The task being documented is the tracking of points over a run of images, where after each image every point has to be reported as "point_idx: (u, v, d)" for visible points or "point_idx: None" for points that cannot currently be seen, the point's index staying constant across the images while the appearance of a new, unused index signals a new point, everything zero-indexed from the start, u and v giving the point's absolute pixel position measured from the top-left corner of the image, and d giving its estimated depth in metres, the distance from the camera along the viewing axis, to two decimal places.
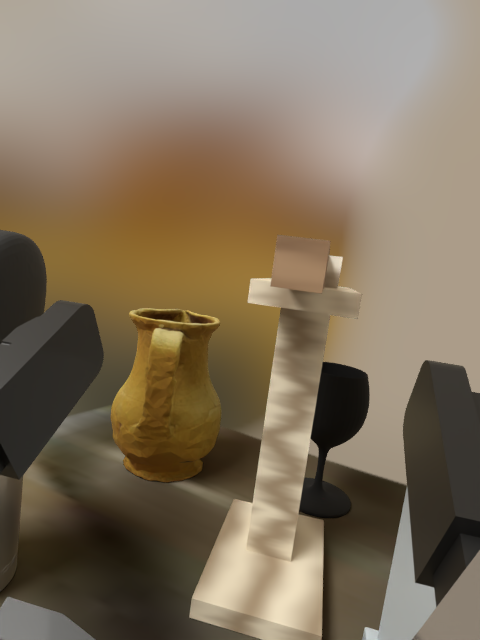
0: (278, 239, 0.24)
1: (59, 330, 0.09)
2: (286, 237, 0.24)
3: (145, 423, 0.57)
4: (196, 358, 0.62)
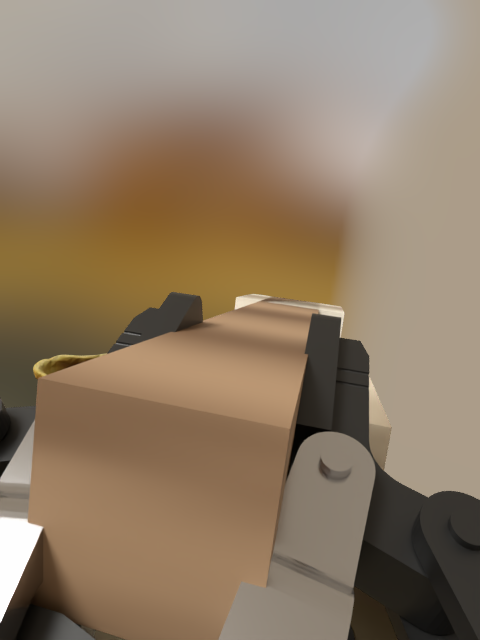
0: (43, 400, 0.05)
1: (183, 320, 0.10)
2: (76, 395, 0.05)
3: None
4: None
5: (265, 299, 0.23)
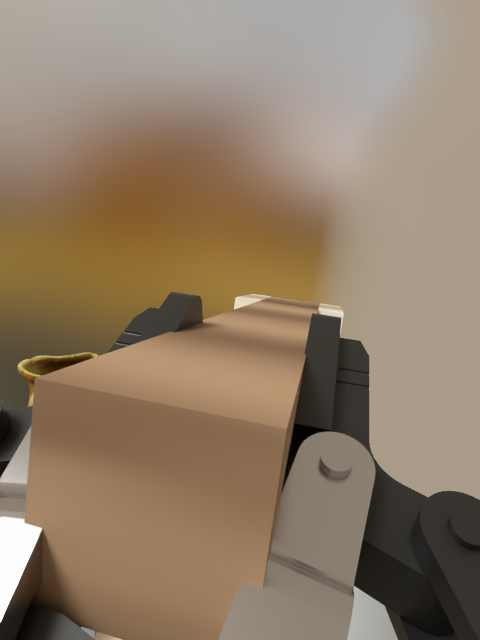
0: (40, 400, 0.05)
1: (183, 320, 0.10)
2: (73, 395, 0.05)
3: None
4: None
5: (264, 299, 0.23)
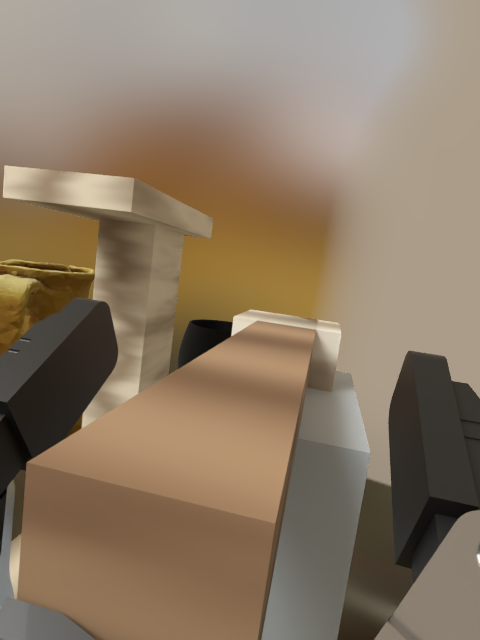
0: (32, 484, 0.05)
1: (78, 326, 0.09)
2: (64, 481, 0.05)
3: None
4: None
5: (262, 317, 0.23)
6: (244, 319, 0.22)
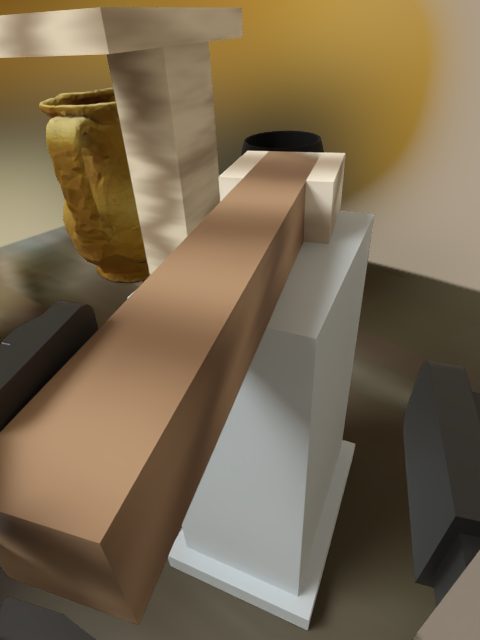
0: None
1: (59, 330, 0.09)
2: None
3: (78, 227, 0.55)
4: (122, 148, 0.53)
5: (253, 168, 0.21)
6: (229, 178, 0.20)
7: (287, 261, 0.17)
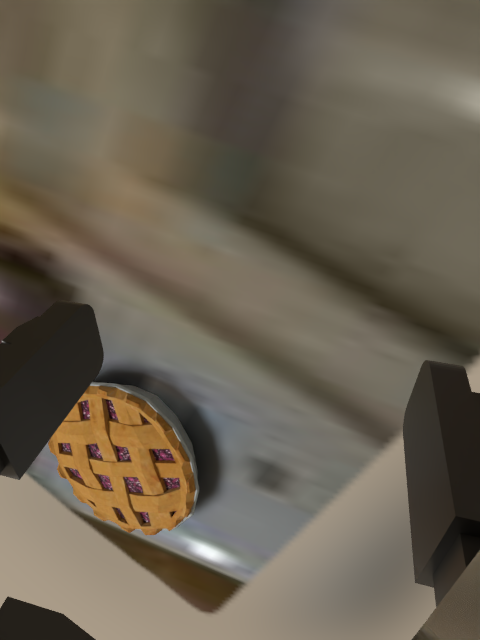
0: None
1: (59, 330, 0.09)
2: None
3: None
4: None
5: None
6: None
7: None
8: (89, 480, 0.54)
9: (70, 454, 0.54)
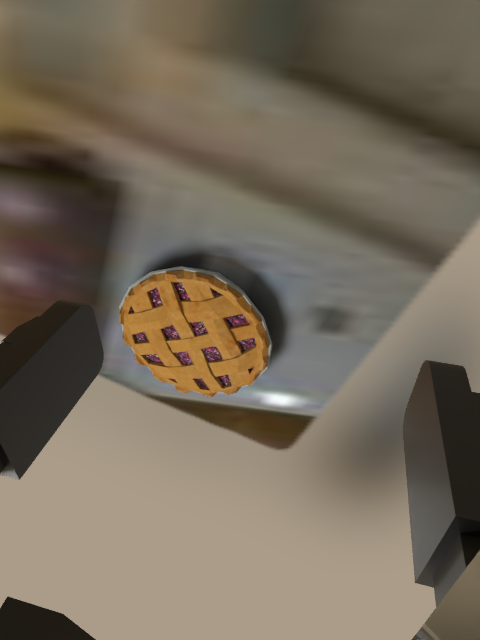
0: None
1: (59, 330, 0.09)
2: None
3: None
4: None
5: None
6: None
7: None
8: (168, 360, 0.60)
9: (146, 342, 0.60)
